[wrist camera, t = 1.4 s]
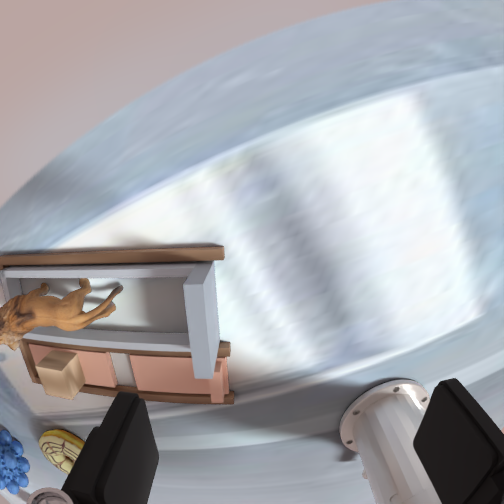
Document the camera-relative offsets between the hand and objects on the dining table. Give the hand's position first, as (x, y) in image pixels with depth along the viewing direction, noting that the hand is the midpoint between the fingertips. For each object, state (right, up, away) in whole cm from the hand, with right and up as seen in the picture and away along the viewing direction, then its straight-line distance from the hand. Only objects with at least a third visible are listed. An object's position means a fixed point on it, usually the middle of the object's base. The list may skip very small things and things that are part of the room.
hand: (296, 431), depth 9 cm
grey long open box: (-17, 0, +22) cm, 28 cm away
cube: (-23, -8, +23) cm, 34 cm away
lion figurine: (-22, 0, +23) cm, 31 cm away
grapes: (-44, -29, +30) cm, 60 cm away
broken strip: (-17, -8, +24) cm, 31 cm away
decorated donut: (-30, -26, +29) cm, 49 cm away
